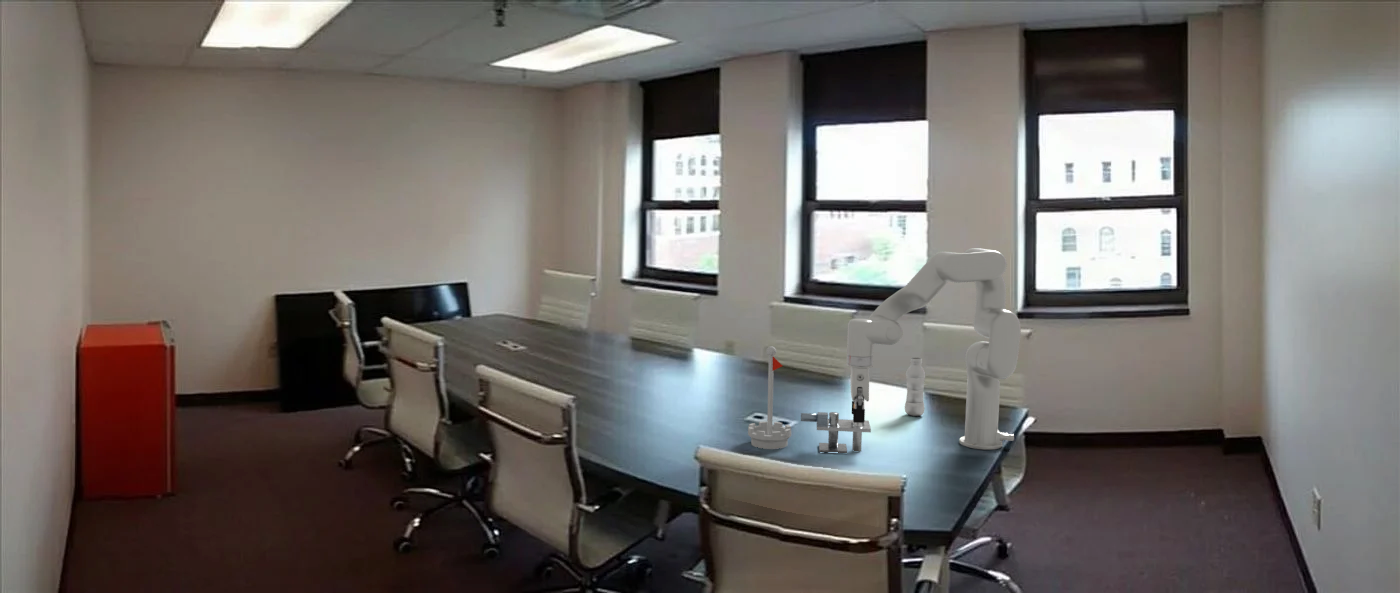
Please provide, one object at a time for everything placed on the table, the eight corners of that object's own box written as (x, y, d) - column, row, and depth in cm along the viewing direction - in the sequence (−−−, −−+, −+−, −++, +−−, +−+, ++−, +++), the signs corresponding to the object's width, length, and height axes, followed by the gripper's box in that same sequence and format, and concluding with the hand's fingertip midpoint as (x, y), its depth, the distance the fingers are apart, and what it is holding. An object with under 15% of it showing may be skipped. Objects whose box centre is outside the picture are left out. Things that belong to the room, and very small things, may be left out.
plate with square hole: (867, 446, 268) (868, 410, 267) (869, 456, 259) (871, 418, 257) (800, 443, 271) (801, 408, 270) (799, 452, 261) (800, 416, 260)
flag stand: (739, 442, 271) (740, 345, 268) (771, 436, 279) (773, 341, 276) (767, 452, 261) (769, 351, 258) (799, 445, 269) (802, 347, 265)
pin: (860, 449, 265) (862, 403, 264) (861, 452, 263) (862, 405, 261) (852, 449, 265) (853, 403, 264) (852, 451, 263) (853, 405, 261)
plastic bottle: (926, 417, 304) (928, 360, 302) (906, 417, 305) (908, 359, 302) (921, 413, 311) (924, 356, 309) (902, 413, 311) (904, 356, 309)
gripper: (874, 367, 252) (872, 426, 254) (870, 356, 269) (868, 411, 271) (848, 366, 253) (846, 425, 255) (845, 355, 270) (843, 410, 272)
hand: (857, 418), depth 263 cm, fingers open, 9 cm apart
